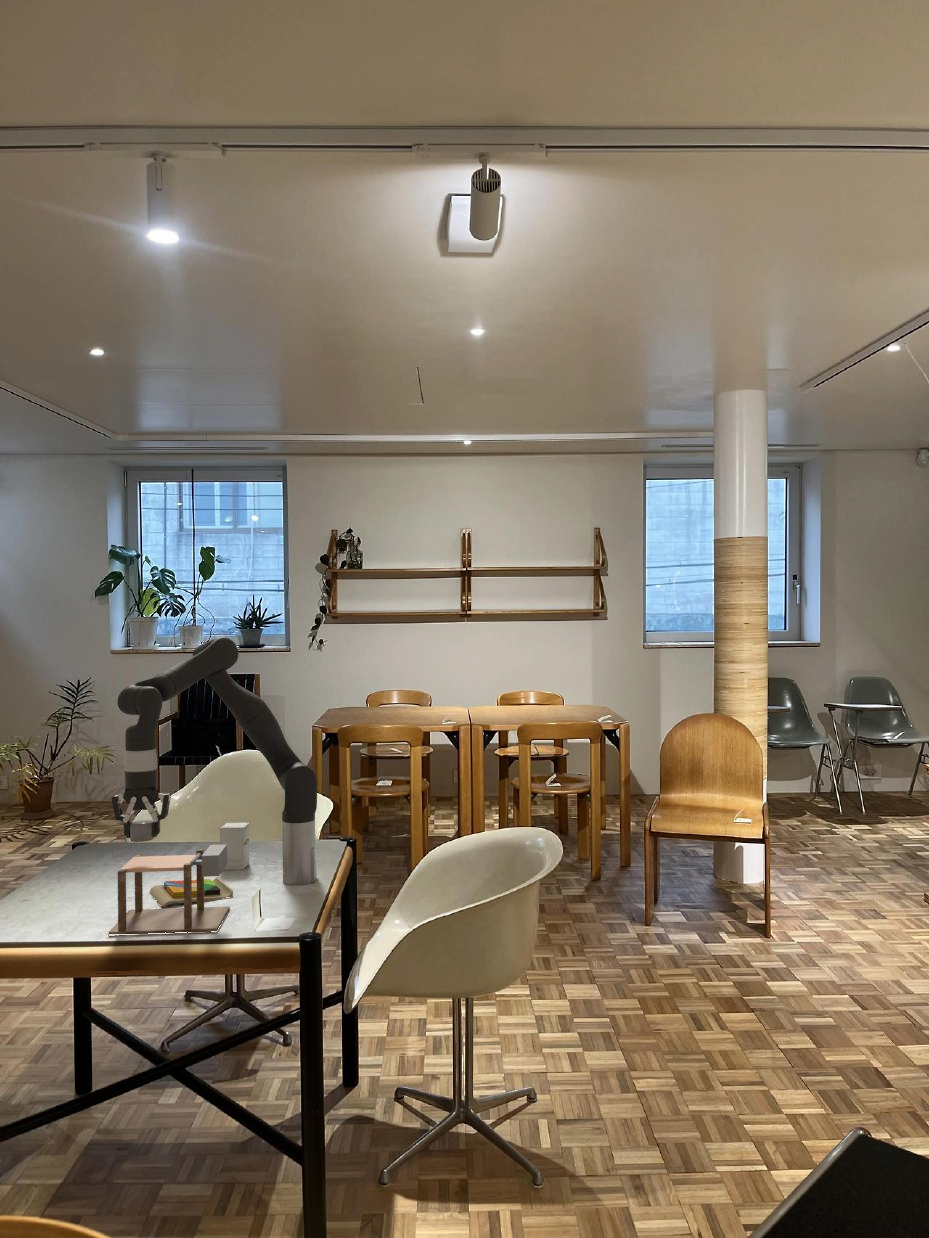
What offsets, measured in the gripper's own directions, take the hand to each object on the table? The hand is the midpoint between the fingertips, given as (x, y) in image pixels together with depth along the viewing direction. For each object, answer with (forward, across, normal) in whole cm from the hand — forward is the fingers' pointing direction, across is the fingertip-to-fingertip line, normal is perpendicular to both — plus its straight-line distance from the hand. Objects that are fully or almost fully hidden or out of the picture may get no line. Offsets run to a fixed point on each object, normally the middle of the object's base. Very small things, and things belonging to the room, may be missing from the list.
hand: (142, 836), depth 226 cm
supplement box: (+22, -13, -52) cm, 58 cm away
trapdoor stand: (+21, -7, 0) cm, 22 cm away
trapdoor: (+9, -8, 0) cm, 12 cm away
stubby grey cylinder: (+1, 0, 0) cm, 1 cm away
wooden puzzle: (+22, -6, -24) cm, 33 cm away
